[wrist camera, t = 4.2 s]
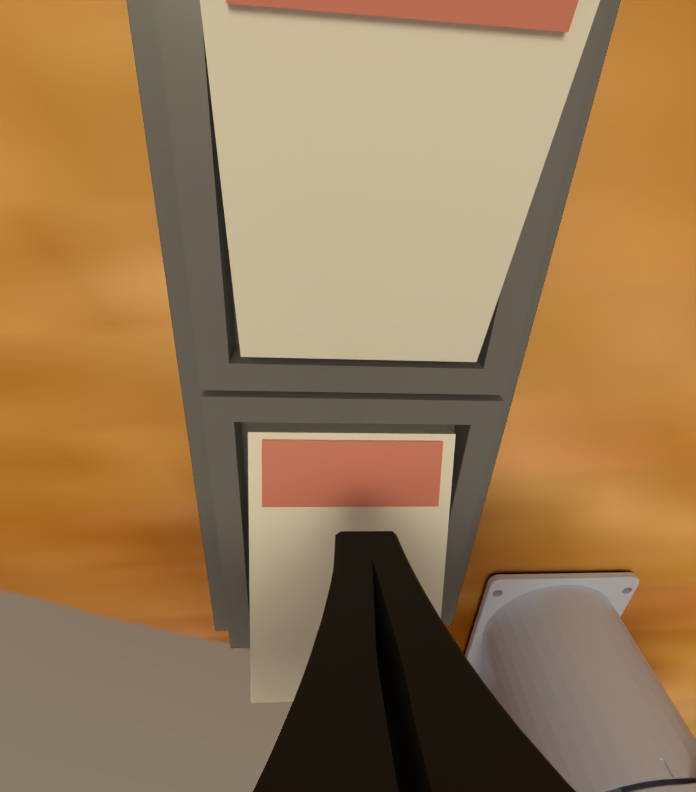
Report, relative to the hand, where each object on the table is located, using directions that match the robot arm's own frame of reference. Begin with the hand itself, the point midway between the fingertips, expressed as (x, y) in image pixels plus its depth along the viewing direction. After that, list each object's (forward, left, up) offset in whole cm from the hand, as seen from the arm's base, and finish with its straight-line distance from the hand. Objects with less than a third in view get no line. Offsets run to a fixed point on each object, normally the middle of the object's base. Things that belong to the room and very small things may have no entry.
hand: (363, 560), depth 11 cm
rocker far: (-3, 0, -3) cm, 4 cm away
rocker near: (+8, 0, -3) cm, 9 cm away
